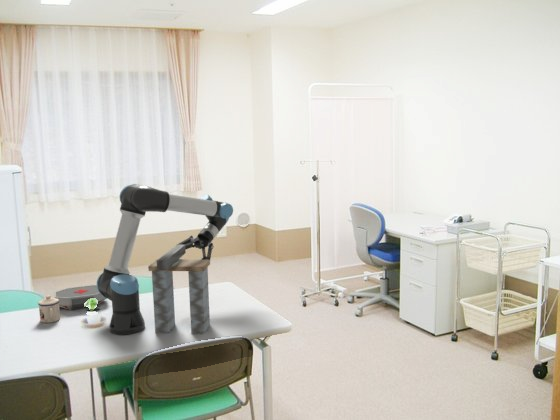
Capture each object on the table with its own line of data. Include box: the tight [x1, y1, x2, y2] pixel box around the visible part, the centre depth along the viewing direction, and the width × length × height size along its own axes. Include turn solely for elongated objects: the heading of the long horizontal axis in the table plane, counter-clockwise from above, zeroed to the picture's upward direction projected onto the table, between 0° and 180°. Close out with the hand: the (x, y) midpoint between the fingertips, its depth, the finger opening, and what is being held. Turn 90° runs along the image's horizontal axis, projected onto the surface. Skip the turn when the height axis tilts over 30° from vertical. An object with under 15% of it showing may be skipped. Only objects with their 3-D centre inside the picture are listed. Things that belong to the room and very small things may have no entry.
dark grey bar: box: [156, 244, 186, 270], centre depth 236 cm, size 4×30×4 cm, turn 175°
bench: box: [148, 258, 211, 334], centre depth 237 cm, size 24×12×30 cm, turn 85°
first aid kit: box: [54, 284, 108, 310], centre depth 273 cm, size 18×8×25 cm
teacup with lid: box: [37, 294, 61, 324], centre depth 251 cm, size 12×9×12 cm
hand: (183, 264), depth 262 cm, fingers open, 13 cm apart
